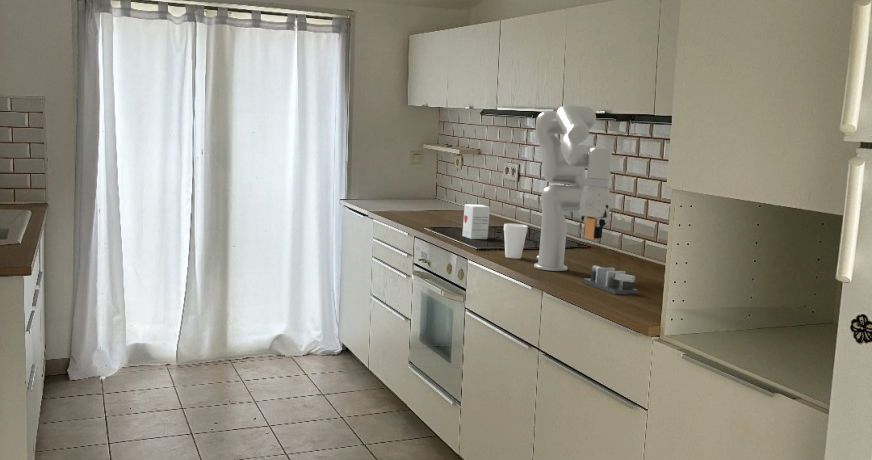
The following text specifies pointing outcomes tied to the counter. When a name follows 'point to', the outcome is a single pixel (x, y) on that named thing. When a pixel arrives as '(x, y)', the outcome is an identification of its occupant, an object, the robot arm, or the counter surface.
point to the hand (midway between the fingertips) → (592, 236)
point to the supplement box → (476, 221)
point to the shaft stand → (611, 280)
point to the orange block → (590, 228)
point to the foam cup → (514, 239)
